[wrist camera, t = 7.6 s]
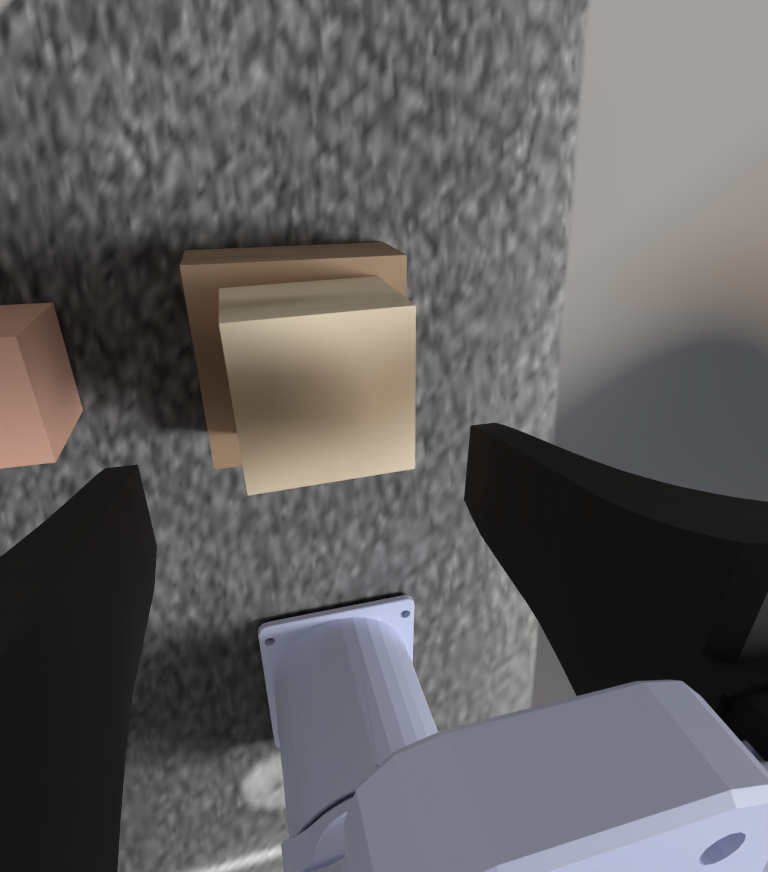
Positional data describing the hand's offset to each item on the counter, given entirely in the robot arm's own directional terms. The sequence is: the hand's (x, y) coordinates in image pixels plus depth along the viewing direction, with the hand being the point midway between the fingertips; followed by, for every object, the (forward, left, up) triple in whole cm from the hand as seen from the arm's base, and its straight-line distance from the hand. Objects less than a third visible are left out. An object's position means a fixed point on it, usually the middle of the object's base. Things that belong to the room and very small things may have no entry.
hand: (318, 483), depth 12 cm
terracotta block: (0, +9, -10) cm, 14 cm away
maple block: (0, -1, -7) cm, 7 cm away
